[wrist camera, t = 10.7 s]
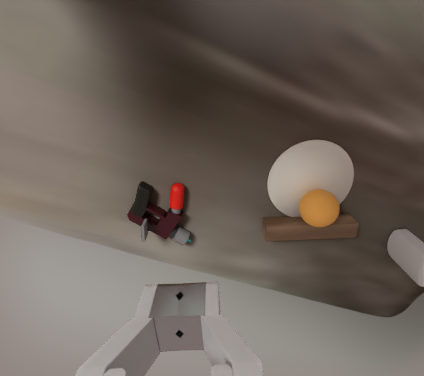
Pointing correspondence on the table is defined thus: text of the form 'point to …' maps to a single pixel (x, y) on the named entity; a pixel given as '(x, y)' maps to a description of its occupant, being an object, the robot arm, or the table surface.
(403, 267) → the eye dropper bottle
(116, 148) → the table surface
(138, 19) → the table surface
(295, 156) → the white flat disc
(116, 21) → the table surface
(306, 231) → the rail
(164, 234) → the toy gun
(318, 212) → the ball
